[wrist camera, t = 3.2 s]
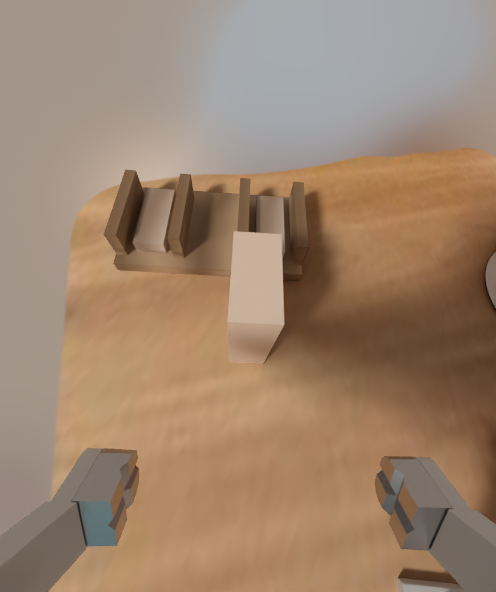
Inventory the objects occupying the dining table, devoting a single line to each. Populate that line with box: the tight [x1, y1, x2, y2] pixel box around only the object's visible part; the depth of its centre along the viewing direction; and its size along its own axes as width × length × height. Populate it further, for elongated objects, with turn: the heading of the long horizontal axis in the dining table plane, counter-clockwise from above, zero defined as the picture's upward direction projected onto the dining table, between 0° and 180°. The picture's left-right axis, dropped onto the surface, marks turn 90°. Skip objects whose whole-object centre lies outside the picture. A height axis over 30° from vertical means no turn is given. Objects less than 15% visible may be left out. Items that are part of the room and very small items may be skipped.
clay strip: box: [228, 231, 284, 363], centre depth 20 cm, size 3×6×10 cm, turn 178°
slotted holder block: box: [104, 170, 309, 280], centre depth 27 cm, size 18×10×4 cm, turn 88°
